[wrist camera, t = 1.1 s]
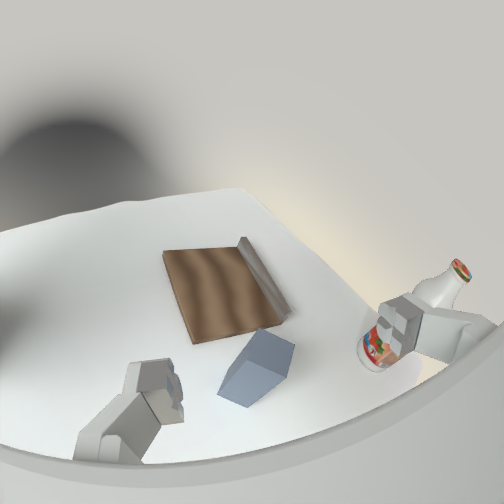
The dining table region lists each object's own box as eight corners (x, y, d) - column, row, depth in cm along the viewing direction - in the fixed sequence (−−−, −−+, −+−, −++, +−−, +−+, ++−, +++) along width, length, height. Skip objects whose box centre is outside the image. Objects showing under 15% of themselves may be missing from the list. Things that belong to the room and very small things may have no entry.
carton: (217, 394, 36) (246, 359, 28) (228, 369, 40) (259, 327, 32) (248, 408, 36) (288, 378, 28) (258, 382, 40) (297, 345, 32)
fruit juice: (381, 381, 48) (483, 297, 31) (350, 356, 51) (448, 262, 34) (390, 353, 55) (475, 272, 38) (362, 330, 58) (444, 242, 41)
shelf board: (192, 344, 41) (198, 330, 39) (162, 256, 53) (165, 239, 50) (282, 324, 51) (292, 310, 49) (240, 251, 63) (247, 236, 60)
